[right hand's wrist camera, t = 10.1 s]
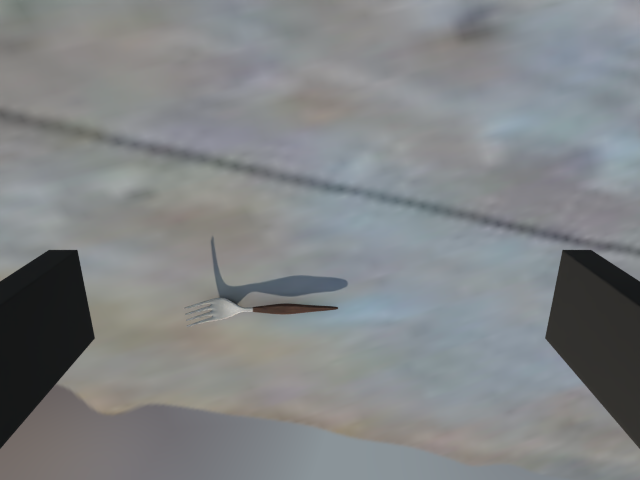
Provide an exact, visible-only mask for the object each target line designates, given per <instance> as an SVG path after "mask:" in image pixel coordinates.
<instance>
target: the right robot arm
mask: <svg viewBox="0 0 640 480" xmlns="http://www.w3.org/2000/svg"><path fill="white" fill-rule="evenodd" d="M94 338H95V337H94V332H93V327H92V322H91V317H90V312H89V307H88V302H87V297H86V291H85V286H84V281H83V276H82V271H81V266H80V261H79V256H78V251H77V250H48V251H47V252H45V253H44V254H42V255H41V256H39V257H37V258H36V259H34V260H33V261H31V262H30V263H28V264H27V265H25V266H24V267H22V268H20V269H19V270H17V271H16V272H14V273H13V274H11V275H10V276H8V277H7V278H5V279H3V280H2V281H0V448H1V447H2V446H3V445H4V444H5V443H6V441H7V440H8V439H9V438H10V437H11V435H12V434H13V433H14V432H15V431H16V430H17V428H18V427H19V426H20V425H21V424H22V423H23V422H24V420H25V419H26V418H27V417H28V416H29V415H30V413H31V412H32V411H33V410H34V409H35V407H36V406H37V405H38V404H39V403H40V402H41V400H42V399H43V398H44V397H45V396H46V395H47V393H48V392H49V391H50V390H51V389H52V388H53V386H54V385H55V384H56V383H57V382H58V381H59V379H60V378H61V377H62V376H63V375H64V374H65V372H66V371H67V370H68V369H69V368H70V367H71V365H72V364H73V363H74V362H75V361H76V360H77V358H78V357H79V356H80V355H81V354H82V353H83V351H84V350H85V349H86V348H87V347H88V346H89V344H90V343H91V342H92V341H93V340H94ZM545 338H546V340H547V341H548V342H549V343H550V344H551V346H552V347H553V348H554V349H555V350H556V351H557V353H558V354H559V355H560V356H561V357H562V358H563V360H564V361H565V362H566V363H567V364H568V365H569V367H570V368H571V369H572V370H573V371H574V372H575V374H576V375H577V376H578V377H579V378H580V379H581V381H582V382H583V383H584V384H585V385H586V386H587V388H588V389H589V390H590V391H591V392H592V393H593V395H594V396H595V397H596V398H597V399H598V400H599V402H600V403H601V404H602V405H603V406H604V407H605V409H606V410H607V411H608V412H609V413H610V415H611V416H612V417H613V418H614V419H615V420H616V422H617V423H618V424H619V425H620V426H621V427H622V429H623V430H624V431H625V432H626V433H627V434H628V436H629V437H630V438H631V439H632V440H633V441H634V443H635V444H636V445H637V446H638V447H639V448H640V281H638V280H637V279H635V278H633V277H632V276H630V275H629V274H627V273H626V272H624V271H623V270H621V269H620V268H618V267H616V266H615V265H613V264H612V263H610V262H609V261H607V260H606V259H604V258H603V257H601V256H599V255H598V254H596V253H595V252H593V251H592V250H563V251H562V256H561V261H560V266H559V271H558V276H557V281H556V286H555V291H554V297H553V302H552V307H551V312H550V317H549V322H548V327H547V332H546V337H545Z"/></svg>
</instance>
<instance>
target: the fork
mask: <svg viewBox="0 0 640 480" xmlns="http://www.w3.org/2000/svg"><path fill="white" fill-rule="evenodd" d="M204 304H211V305H210V306H208V307H205V308H201V309H198V310H195V311H192V312H189V313H187V314H191V313H195V312H200V311H204V310H212V311H211V312H208V313H205V314H202V315H199V316H196V317H193V318H190V319H187V320H186V321H188V320H192V319H196V318H200V317H204V316H209V315H212V317H211V318H208V319H205V320H202V321H199V322H196V323H193V324H190V325H188V326H187V327H189V326H192V325H196V324H200V323H204V322H209V321H214V320H221V319H225V318H228V317H231V316H233V315H235V314H237V313H240V312H260V313H270V314H296V313H305V312H315V311H326V310H335V309H338V307H332V306H315V305H301V304H275V305H266V306H258V307H249V308H244V307H240V306H238V305H237V304H235V303H233V302H232V301H230V300H228V299H225V298H215V299H211V300H208V301H204V302H201V303H198V304H195V305H192V306H189V307H185V308H184V309H187V308H190V307H195V306H199V305H204ZM187 314H185V315H187Z"/></svg>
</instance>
